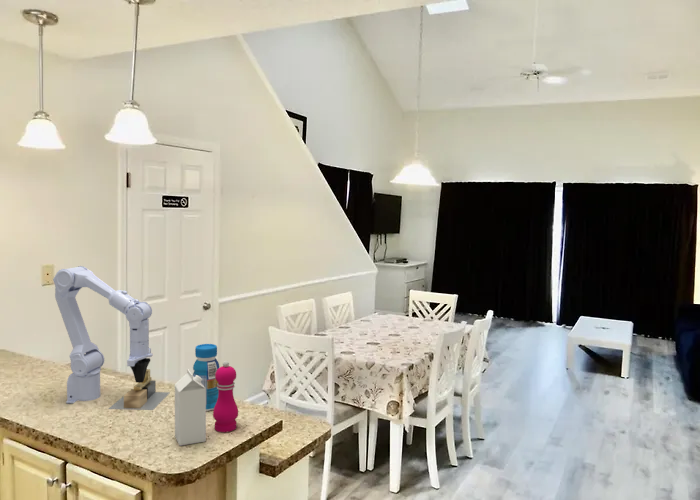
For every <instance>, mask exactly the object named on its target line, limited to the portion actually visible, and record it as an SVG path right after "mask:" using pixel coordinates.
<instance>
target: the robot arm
mask: <svg viewBox="0 0 700 500" xmlns="http://www.w3.org/2000/svg"><path fill="white" fill-rule="evenodd" d="M52 280H53V281H52V282H53V284H54V292H55V293H54V298H55V300H56V303H57V307H58V310H59V312H60V314H61V318H62V320H63V323H64V326H65V329H66V332H67V335H68V338H69V341H70V343H71V345H72V349H71V352H70V354H69V359H70V370H71V372H72V373H70V375H69V376H68V377H67V381H66V398H67V399H66V401H65V403H66V404H74V403H76V402H78V401H79V402H80V401H81V402H88V401H89V402H90V401H93V400H97V399H100V397H101V370H102V369H101V367H102V366H104V364H105V356H104V354H103V353H102V352H101V351H100V348H99V347H98V345H97V344H95V343H94V342H92V340H91V338H90V336H89V332H88V330H87V327H86V324H85V321H84V318H83V316H82V313H81V310H80V307H79V305H78V301H77V298H76V297H77V295H78V294H79V291H81V289H83V288H88V289H90V290H91V291H94V292H95V293H97V294H99V295H100V296H102V297H103V298H106V299H107V300H108V304H109V305H110V306H111V307H113V308H114V309H115V310H117V311H119V312H120V313H122V314H123V315H124V316H125V319H126V320H127V321H128V327H129V355H128V359H127V360H126V363H127V365H126V366H127V367H130V369H131V371H132V374H133V377H134V381H135V383H142V382H143V381H144V378H145V374H146V370H147V369H148V367H149V365H150V362H151V357H153V353H152V348H150V336H149V335H150V330H149V329H150V327H149V326H150V321H149V318H150V317H151V316H152V314H153V309H152V306H151V305H150V304H148V302H146V301H140V300H139V299H137V298H134V297H133V296H131V295H130V294H129V293H128V291H127V290H124V289H123V290H122V289H117V290H115V289H114V288H113V287H112V286H110V285H109V284H107V283H106V282H105V281H103V280H102V279H100V278H99V277H98V276H97V275H95V274H94V271H92V270H90V269H88V267H85V266H83V265H80V266H76V267H68V268H61V269H59V270H58V271H57V272H56V274H55V275H54V277H53V278H52Z"/></svg>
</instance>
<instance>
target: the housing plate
mask: <svg viewBox="0 0 700 500" xmlns="http://www.w3.org/2000/svg"><path fill="white" fill-rule="evenodd" d="M156 384H157V383H156V380H152V379H151V381H150V382H149V383H148V384H147V385H146V386H145V387H143V388H142V389H146V390H147V402H146V403H145V404H144V405H143V406H142V407H141V408H124V395H123V396H122V397H121V398H120V399H118V400H117V401H116V402H114V404H112V405H111V406H109V407H108V410H127V411H128V410H133V411H135V410H136V411H154V410H155V409H156V408H157V406H159V405H160V403H162V402H163V401H164V400H165V398H166V397H167V396H168V395H170V393H171V392H169V391H156V386H157V385H156Z"/></svg>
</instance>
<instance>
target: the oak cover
mask: <svg viewBox="0 0 700 500" xmlns="http://www.w3.org/2000/svg"><path fill="white" fill-rule="evenodd" d="M123 396H124V408H141V407H142V406H143V405H144V404H145V403H146V402H147V390H146V389H141V390H140V391H135V390H134V388H133V389H130V390H128V392H126V393H125V394H124V395H123Z"/></svg>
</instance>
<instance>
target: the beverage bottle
mask: <svg viewBox="0 0 700 500" xmlns="http://www.w3.org/2000/svg"><path fill="white" fill-rule="evenodd" d="M194 351H195V353H194V355H195V358H196V359H195V361H194V363H193V364H192V365H193V366H192V370H193V372H192V375H193V376H194V377H195V376H196V375H198V376H199V377H201V378H202V381H201V383H202V384H203V386H204V387H205V389H206V412H210V411H213V410H214V407H215V405H216V402H217V400H218V394H219V391H218V389H217V383H218V381H217V380H216V378H215V373H216V371H217V369H218V368H220V363H219V360H218V359H217V358H216V357H217V356H218V346H217V345H216V344H213V343H201V344H198V345H196V346H195V350H194Z"/></svg>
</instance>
